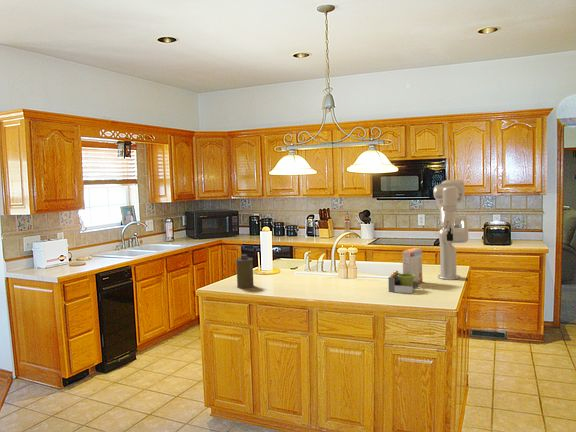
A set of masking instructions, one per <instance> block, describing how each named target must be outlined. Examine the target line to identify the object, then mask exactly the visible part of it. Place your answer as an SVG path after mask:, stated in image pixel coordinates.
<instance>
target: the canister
mask: <svg viewBox="0 0 576 432" xmlns="http://www.w3.org/2000/svg"><path fill="white" fill-rule="evenodd" d="M253 259H254V258H253V257H249V256H248V254H241V255H240V257H238V258H236V259H235V261H236V262H235V263H236V282H237V283H236V284H237V286H236V287H237V288H238V289H251V288H254V286H255V285H254V266H253V265H254V264H253Z"/></svg>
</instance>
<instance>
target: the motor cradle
mask: <svg viewBox="0 0 576 432" xmlns="http://www.w3.org/2000/svg"><path fill="white" fill-rule="evenodd" d="M390 274H391V275H390V276H388V281H387V282H388V292H390V293H397V294H409V295H410V294H411V295H412V294H414V289H419V283H418V281H413V286H404V285H400V280H399V276H398V275H399V274H402V273H401V272H400V273H399V270H393V272H391V273H390Z"/></svg>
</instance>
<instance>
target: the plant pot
mask: <svg viewBox="0 0 576 432" xmlns="http://www.w3.org/2000/svg"><path fill="white" fill-rule="evenodd" d="M398 276H399V280H400V285H404V286H413V279H414V276H415V275H414V274H403V273H401V274H399V275H398Z"/></svg>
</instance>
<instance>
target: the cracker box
mask: <svg viewBox="0 0 576 432" xmlns="http://www.w3.org/2000/svg"><path fill="white" fill-rule="evenodd" d="M422 252H423V251H422V248H420V247H413V248H408V249H406V250H402V253H401V254H402V256H401V257H402V274H414V275H415V276H414V279H413V281H418V284H420V283H421V284H422V283H423V254H422Z"/></svg>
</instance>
